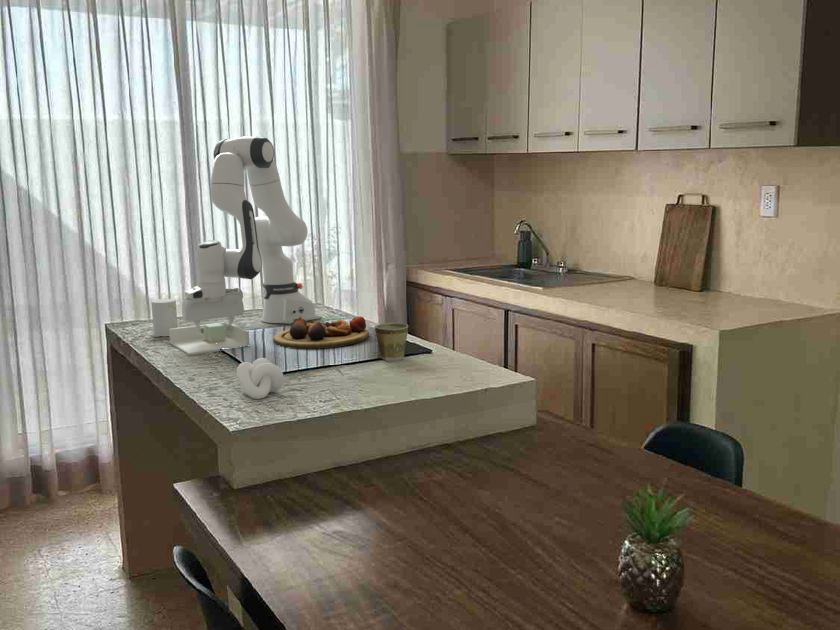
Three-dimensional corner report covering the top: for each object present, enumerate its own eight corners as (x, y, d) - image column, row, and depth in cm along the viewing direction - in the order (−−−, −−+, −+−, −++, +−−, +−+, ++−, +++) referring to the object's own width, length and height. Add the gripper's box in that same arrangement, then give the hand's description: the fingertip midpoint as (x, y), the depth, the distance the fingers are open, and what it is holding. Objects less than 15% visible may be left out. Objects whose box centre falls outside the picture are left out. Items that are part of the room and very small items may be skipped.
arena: (228, 335, 284) (227, 321, 283) (249, 346, 267) (248, 331, 266) (170, 343, 273) (169, 328, 272) (188, 354, 257) (187, 339, 256)
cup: (174, 336, 284) (171, 302, 282) (150, 337, 284) (147, 302, 282) (181, 331, 292) (178, 298, 290) (158, 332, 292) (155, 298, 290)
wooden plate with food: (376, 330, 291) (375, 307, 289) (359, 349, 259) (358, 324, 258) (288, 331, 294) (286, 308, 293) (261, 351, 263) (259, 325, 262)
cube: (220, 337, 278) (219, 323, 277) (225, 340, 273) (224, 325, 273) (205, 339, 275) (204, 325, 274) (210, 342, 271) (209, 327, 270)
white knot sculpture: (287, 388, 217) (286, 355, 216) (281, 401, 205) (279, 366, 204) (244, 389, 217) (242, 356, 215) (236, 402, 205) (233, 367, 204)
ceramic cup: (404, 363, 242) (404, 329, 240) (372, 362, 244) (371, 328, 242) (414, 352, 254) (413, 321, 252) (382, 351, 256) (381, 320, 254)
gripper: (239, 286, 279) (241, 326, 282) (179, 292, 268) (182, 333, 271) (245, 288, 274) (248, 329, 276) (184, 294, 263) (187, 337, 266)
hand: (214, 331), depth 274 cm, fingers open, 8 cm apart
